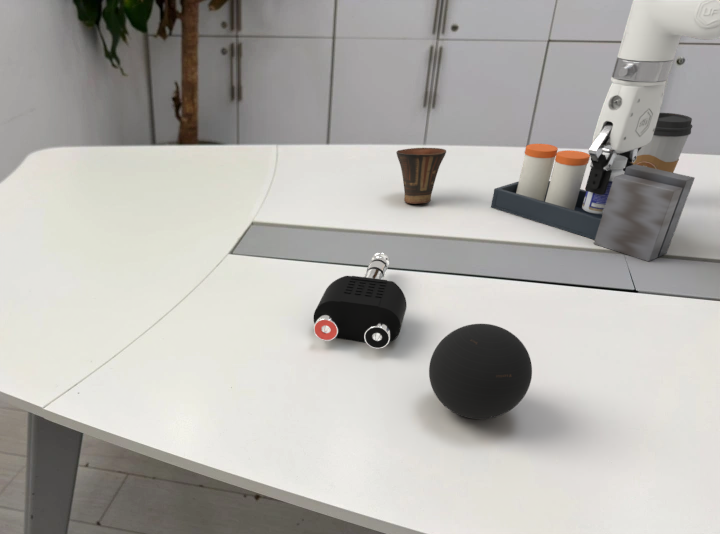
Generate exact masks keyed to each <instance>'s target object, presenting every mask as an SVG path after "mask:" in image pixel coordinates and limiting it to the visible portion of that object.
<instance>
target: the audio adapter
mask: <svg viewBox="0 0 720 534" xmlns="http://www.w3.org/2000/svg"><path fill="white" fill-rule="evenodd" d="M370 259H371V260H370V262H369V263H368V266H367V268H366V270H365V273H364V275H363V276H357V275H343V276H341V277H339V278H337V279H335V280H333V281H332V282H331V283H330V284H329V285H328V286H327V287H326V289H325V290H324V293H323V294H322V296H321V299H320V300H319V303H318V305H317V306H316V308H315V310H314V312H313V324H314V325H313V332H314V335H315V336H316V337H317V338H318V339H320V340H322V341H325V342H330V341H332V340H334V339H341V340H345V341H347V340H348V341H353V342H354V341H355V342H359V343H360V342H361V343H366V345H368V347H370V348H372V349H377V350H378V349H383V348H385V347H387V346H388V345H389V344H390V343H392V342H393V341H394V340H396V339H397V337H398V336H399V335H400V333H401V328H402V325H403V321H404V319H405V318H404V317H405V315H406V311H407V299H406V296H405V294H404V292H403V290H402V289H401V287H400V286H399V285H398V284H397V283H396V282H395V281H393V280H388V279H385V276H386V274H387V271H388V267H389V265H390V257H389V255H388V254H386V253H384V252H376V253H374V254H373V255H372V257H371V258H370Z"/></svg>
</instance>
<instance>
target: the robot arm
mask: <svg viewBox="0 0 720 534" xmlns="http://www.w3.org/2000/svg"><path fill="white" fill-rule="evenodd" d="M682 37H687V38H691V39H696V40H702V41H713V40H719V39H720V0H632V2H631V6H630V10H629V13H628V17H627V21H626V23H625V28H624V31H623V35H622V38H621V42H620V45H619V49H618V53H617V56H616V60H615V63H614V67H613V71H612V74H611V77H610V82H611V84H610V86H609V88H608V91H607V93H606V96H605V99H604V102H603V104H602V107H601V110H600V113H599V116H598V118H597V119H598V120H597V122H596V125H595V129H594V133H593V137H592V142H591V143H592V144H591V146H590V147H589V149H588V154H589V155H590V161H591V162H590V165H589V167H590V171H589V173H588V176H587V181H586V184H585V188H584V190H586V191H588V192H592V193H596V194H599V195H603V194H605V192H606V189H607V186H608V182H609V179H610V176H611V173H612V170H609V169H610V167H611V165H612V163H613V161H614V159H615V157H616V155H621V156H625V157H627V159H628V160H627V163H626V166H625V168H623V171H625V170H626V167H628V166H631V165H633V163H634V162H635V160H636V158H637V153H638V151H639V150H640V149H641V147H643V146H645V145H647V144H649V143H650V142H651V140H652V137H653V134H654V131H655V127H656V124H657V120H658V117H659V113H661V109H662V105H663V101H664V97H665V90H666V84H667V82H668V79H669V75H670V73H671V69H672V66H673V63H674V60H675V57H676V55H677V51H678V48H679V44H680V42H681V38H682ZM608 146H610V148H607V147H608ZM604 153H605V154H604ZM606 154H609V156H608V158H607V160H606V157H605V155H606ZM631 162H632V163H631Z"/></svg>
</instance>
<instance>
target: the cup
mask: <svg viewBox="0 0 720 534" xmlns="http://www.w3.org/2000/svg"><path fill="white" fill-rule="evenodd" d="M446 154H447V149H444V148H440V147H411V148H404V149H399V150H397V151H396V157H397V159H398V162H399V165H400V169H401V176H402V180H403V181H402V183H403V190H404V199H403V201H404V203H406V204H414V205H417V204H418V205H419V204H427V203H429V202H431V199H432V193H433V190H434V185H435V182H436V178H437V175H438V172H439V169H440V167H441V164H442V162H443V160H444V158H445V157H446Z"/></svg>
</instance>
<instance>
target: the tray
mask: <svg viewBox="0 0 720 534" xmlns="http://www.w3.org/2000/svg"><path fill="white" fill-rule="evenodd" d="M518 183H519V180H518V181H515V182H512V183H509V184H505V185H502V186H500V187H496V188H494V190H493V193H492V194H493V195H492V199H491V202H490V203H491V204H490V208H493V209H496V210H498V211H502V212H505V213H508V214H512V215H514V216H518V217H520V218H524V219H527V220H531V221H534V222H536V223H540V224H543V225H547V226H550V227H553V228H557V229H559V230H563V231H565V232H569V233H572V234H574V235H578V236H582V237H584V238H588V239H590V240H594V241H595V238H596V234H597V231H598V228H599V225H600V221H601V218H602V215H599V214H593V213H589V212H586V211H585V210H583V208H582V205H583V201H584V198H585V194H586V190H585V189H582V188H580V191H579V195H578V199H577V202H576V206H575V209H574V210H572V209H569V208H565V207H562V206H558V205H555V204H551V203H548V202H545V200H546V196H547V192H548V188H549V184H550V180H549V183H548V187H547V191H546V195H545V199H544V201H541V200H537V199H534V198H530V197H527V196H523V195H520V194H516V191H517V187H518Z"/></svg>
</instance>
